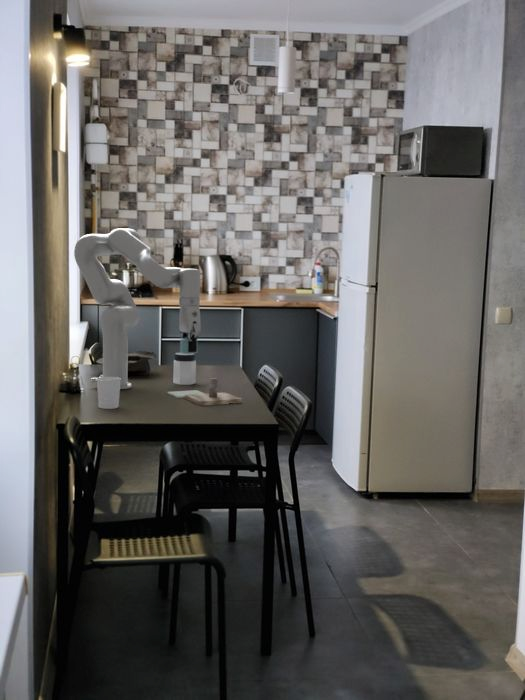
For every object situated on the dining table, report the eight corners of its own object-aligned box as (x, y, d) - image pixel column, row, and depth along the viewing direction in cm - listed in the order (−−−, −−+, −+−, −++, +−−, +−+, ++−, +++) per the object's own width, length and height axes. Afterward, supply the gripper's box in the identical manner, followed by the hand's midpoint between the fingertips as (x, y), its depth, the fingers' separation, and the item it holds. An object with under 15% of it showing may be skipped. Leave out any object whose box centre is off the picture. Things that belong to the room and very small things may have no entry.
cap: (199, 353, 341) (199, 338, 340) (184, 353, 338) (184, 338, 338) (193, 351, 346) (193, 336, 346) (178, 351, 344) (178, 337, 343)
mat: (177, 398, 337) (177, 396, 337) (167, 393, 346) (167, 391, 346) (207, 396, 343) (207, 394, 343) (196, 391, 352) (196, 390, 352)
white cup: (99, 404, 321) (99, 376, 319) (122, 405, 320) (122, 377, 319) (94, 409, 313) (94, 379, 312) (117, 409, 313) (118, 380, 311)
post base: (200, 405, 324) (201, 383, 323) (185, 398, 336) (185, 377, 335) (241, 402, 332) (242, 380, 331) (224, 396, 344) (225, 375, 343)
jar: (199, 384, 369) (199, 354, 367) (182, 385, 364) (183, 355, 362) (186, 380, 376) (187, 351, 374) (169, 382, 370) (170, 352, 369)
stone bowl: (168, 373, 391) (167, 352, 390) (123, 384, 373) (122, 362, 371) (129, 366, 407) (128, 345, 405) (84, 376, 388) (83, 354, 387)
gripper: (208, 304, 334) (207, 353, 336) (189, 300, 349) (188, 347, 352) (189, 304, 331) (188, 354, 333) (171, 300, 346) (170, 348, 348)
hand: (188, 350), depth 342 cm, fingers closed on cap, 6 cm apart
